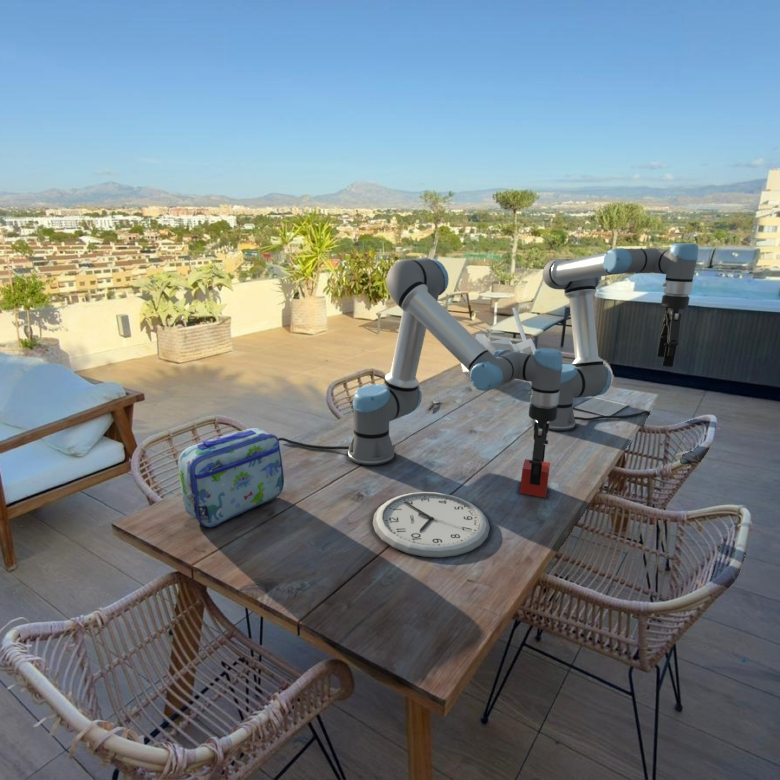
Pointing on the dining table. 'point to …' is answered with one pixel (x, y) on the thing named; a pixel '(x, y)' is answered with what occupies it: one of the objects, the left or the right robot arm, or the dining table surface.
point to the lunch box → (230, 475)
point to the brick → (530, 488)
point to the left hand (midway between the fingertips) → (536, 474)
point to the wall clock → (431, 524)
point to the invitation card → (601, 406)
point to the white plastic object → (505, 343)
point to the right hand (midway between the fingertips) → (664, 361)
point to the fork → (434, 402)
